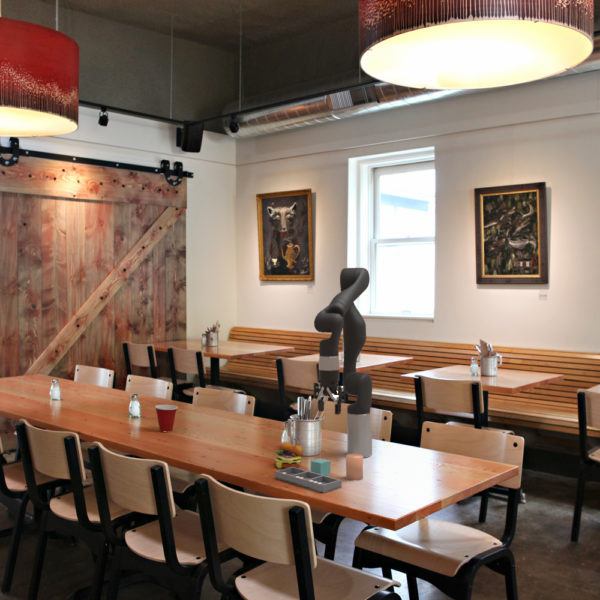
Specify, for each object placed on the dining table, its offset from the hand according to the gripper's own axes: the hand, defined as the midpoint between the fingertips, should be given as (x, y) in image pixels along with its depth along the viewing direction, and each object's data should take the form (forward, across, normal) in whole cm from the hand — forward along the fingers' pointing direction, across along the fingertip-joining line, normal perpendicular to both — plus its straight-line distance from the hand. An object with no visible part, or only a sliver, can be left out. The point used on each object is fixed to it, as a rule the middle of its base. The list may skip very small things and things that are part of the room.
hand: (329, 412), depth 251 cm
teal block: (+22, +2, +3) cm, 23 cm away
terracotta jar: (+22, -10, -2) cm, 25 cm away
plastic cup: (+22, +105, +5) cm, 107 cm away
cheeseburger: (+22, +19, +4) cm, 29 cm away
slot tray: (+22, -3, +14) cm, 26 cm away
